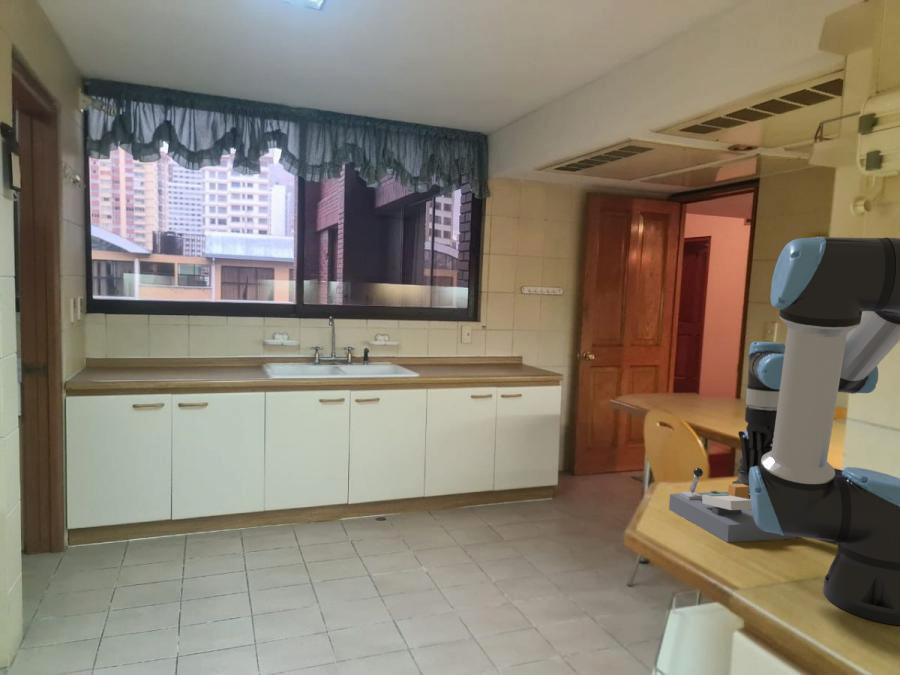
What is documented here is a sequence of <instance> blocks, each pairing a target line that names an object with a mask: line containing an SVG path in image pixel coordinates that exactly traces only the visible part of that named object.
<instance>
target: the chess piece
mask: <svg viewBox="0 0 900 675" xmlns="http://www.w3.org/2000/svg"><path fill="white" fill-rule="evenodd" d="M738 466H739V467H738V469H737V471H738V474H737V475H738V476H737V479H736V480H734V481H732V484H744V485H747V486H749V474H748V473H747V472H744V467H743V457H741V458H739V463H738ZM749 499H750V490H749Z"/></svg>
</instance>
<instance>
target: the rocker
mask: <svg viewBox="0 0 900 675" xmlns="http://www.w3.org/2000/svg"><path fill="white" fill-rule="evenodd" d="M702 502H703V504H707V505H711V506H715V507H720V508H724V509H728V510H745V509H752V507H751V500H750V499H746V498H741V497H736V496H731V495H728V494H705V495H702Z"/></svg>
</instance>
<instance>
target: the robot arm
mask: <svg viewBox="0 0 900 675" xmlns="http://www.w3.org/2000/svg"><path fill="white" fill-rule="evenodd" d="M770 285H771V286H770V288H771V290H770V293H769V294H770V296H769V297H770V299H769V300H770V304H771V306H772V307H773V308H774V309H775V308H776V309H777V310H779V314H778V317H779V319H780V320H781V321H782V322H783V323H784V324H785V325H786V327H787V330H786V338H785V340H786V341H785V343H784V342H783V343H782V342H773V341H753V342H751V343H750V346H749V352H748V368H747V370H748V372H747V386H746V397H745V405H747V406H746V407H745V414H744V421H745V422H746V423H747V426H746V429H745V430H743V431H741V430H740V431H738V437H739V439H740V446H741V456H742V457H741V458H743V467H744V472H747V473H748V474H749V490H750V494H749V495H750V500H751V507H752V513H753V517H754V521H755V523H756V525H757V526H758V528H759V529H761V530H763V531H765V532H771V533H777V534H780V535H782V536H784V535H789V536H795V537H798V538H803V539H804V538H805V539H813V540H817V539H819V540H818V541H821V540H827V541H835V542H838V543H837V552H836V554H835V557H834V558H833V561H832V563H831V564H830V566H829V569H828V572H827V574H826V575H825V576H824V580H823V586H822V593H823V595H824V597H825V598H826V600H828V601H829V602H830V603H832V604H833V605H835V606H837V607H838V608H840V609H842V610H844V611H845V612H846V611H847V612H848V613H851V614H853V615H856V616H858V617H861V618H864V619H867V620H870V621H873V622H874V621H875V622H879V623H882V624H887V625H894V626H900V477H897V476H894V475H890V474H888V473H883V472H882V471H881V472H880V471H877V470H876V471H875V470H872V469H867V468H861V467H855V466H853V467H852V466H851V467H850V466H847V467H845V468H843V471H842V476H837V475H835V470H834V469H835V468H834V467H833V466H832V465H831V464H830V463H829V462H828V455H829V450H830V444H831V443H830V442H831V438H832V431H833V425H834V418H835V411H836V407H837V400H838V393H844V394H845V393H846V394H851V395H855V394H870V393H873V392H874V390H876V386H877V384H878V380H879V367H878V365H879V364H880V363H881V362H882V361H883V360H884V359H885V358H886V356H887V355H888V354H889V353H890V352H891V350H893V348H894V347H896V345H897V344H898V343H899V342H900V238H899V237H836V236H835V237H833V236H832V237H831V236H830V237H828V236H827V237H825V236H824V237H823V236H816V237H804V238H803V237H802V238H795V239H793V240H791V241H789V242H788V243H787V244H786V245H785V246H784V248H783V249H782V250H781V252H780V254H779V256H778V259H777V261H776V264H775V267H774V271H773V275H772V279H771V283H770Z"/></svg>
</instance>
